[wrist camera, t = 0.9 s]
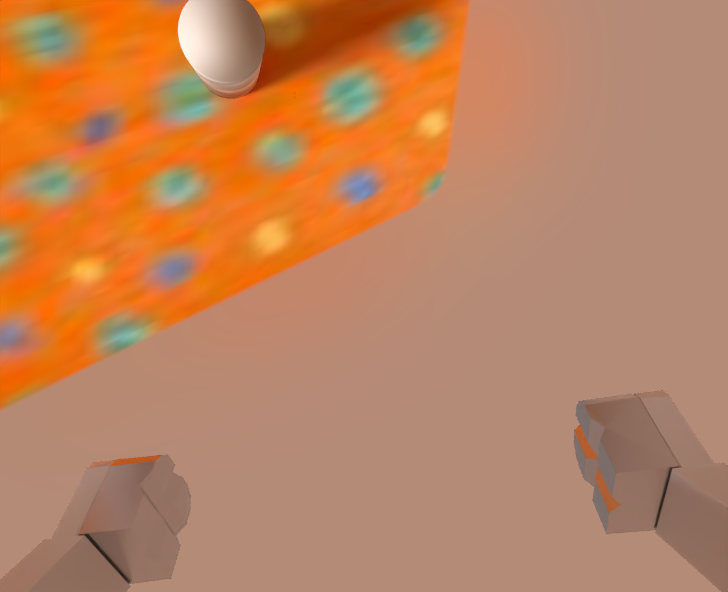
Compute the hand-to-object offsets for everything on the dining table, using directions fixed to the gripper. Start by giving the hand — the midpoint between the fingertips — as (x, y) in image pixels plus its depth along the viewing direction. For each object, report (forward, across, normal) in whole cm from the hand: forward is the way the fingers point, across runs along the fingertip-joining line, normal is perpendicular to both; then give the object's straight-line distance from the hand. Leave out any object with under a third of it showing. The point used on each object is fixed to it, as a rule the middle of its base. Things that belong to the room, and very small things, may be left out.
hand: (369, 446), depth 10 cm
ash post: (+35, +10, -1) cm, 37 cm away
